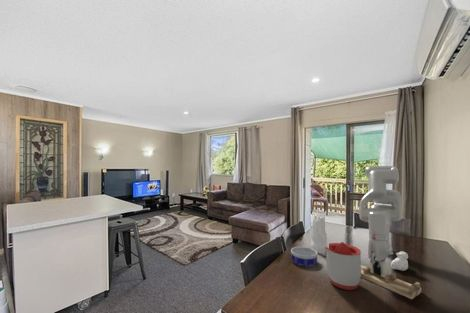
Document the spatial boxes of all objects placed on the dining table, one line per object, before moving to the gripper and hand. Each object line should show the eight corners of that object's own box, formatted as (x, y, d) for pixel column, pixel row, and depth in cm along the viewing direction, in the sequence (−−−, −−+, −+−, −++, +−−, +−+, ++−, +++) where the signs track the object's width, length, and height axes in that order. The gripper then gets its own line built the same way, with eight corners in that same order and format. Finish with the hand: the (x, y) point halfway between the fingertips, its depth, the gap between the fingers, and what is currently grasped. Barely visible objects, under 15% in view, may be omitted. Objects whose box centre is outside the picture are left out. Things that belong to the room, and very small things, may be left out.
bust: (394, 275, 114) (408, 264, 109) (382, 262, 120) (395, 251, 114) (407, 271, 119) (421, 260, 114) (395, 258, 125) (407, 247, 119)
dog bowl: (294, 254, 138) (294, 244, 139) (319, 259, 131) (319, 249, 131) (288, 263, 125) (287, 252, 126) (314, 269, 118) (314, 258, 118)
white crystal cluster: (325, 255, 137) (324, 216, 138) (309, 251, 143) (308, 214, 145) (329, 249, 145) (328, 213, 147) (313, 246, 152) (313, 211, 153)
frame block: (373, 270, 110) (373, 257, 110) (388, 276, 104) (388, 262, 104) (370, 272, 108) (369, 259, 108) (385, 278, 102) (384, 264, 102)
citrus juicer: (327, 271, 114) (326, 234, 115) (364, 282, 103) (363, 241, 104) (318, 283, 102) (317, 242, 103) (359, 297, 91) (357, 250, 92)
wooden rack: (355, 266, 121) (355, 258, 121) (421, 292, 95) (421, 282, 95) (345, 270, 116) (344, 262, 116) (411, 299, 90) (411, 288, 90)
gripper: (378, 232, 114) (379, 266, 113) (361, 236, 106) (362, 274, 105) (394, 235, 108) (395, 272, 107) (377, 241, 99) (379, 281, 98)
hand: (379, 273), depth 106 cm, fingers closed on frame block, 3 cm apart
